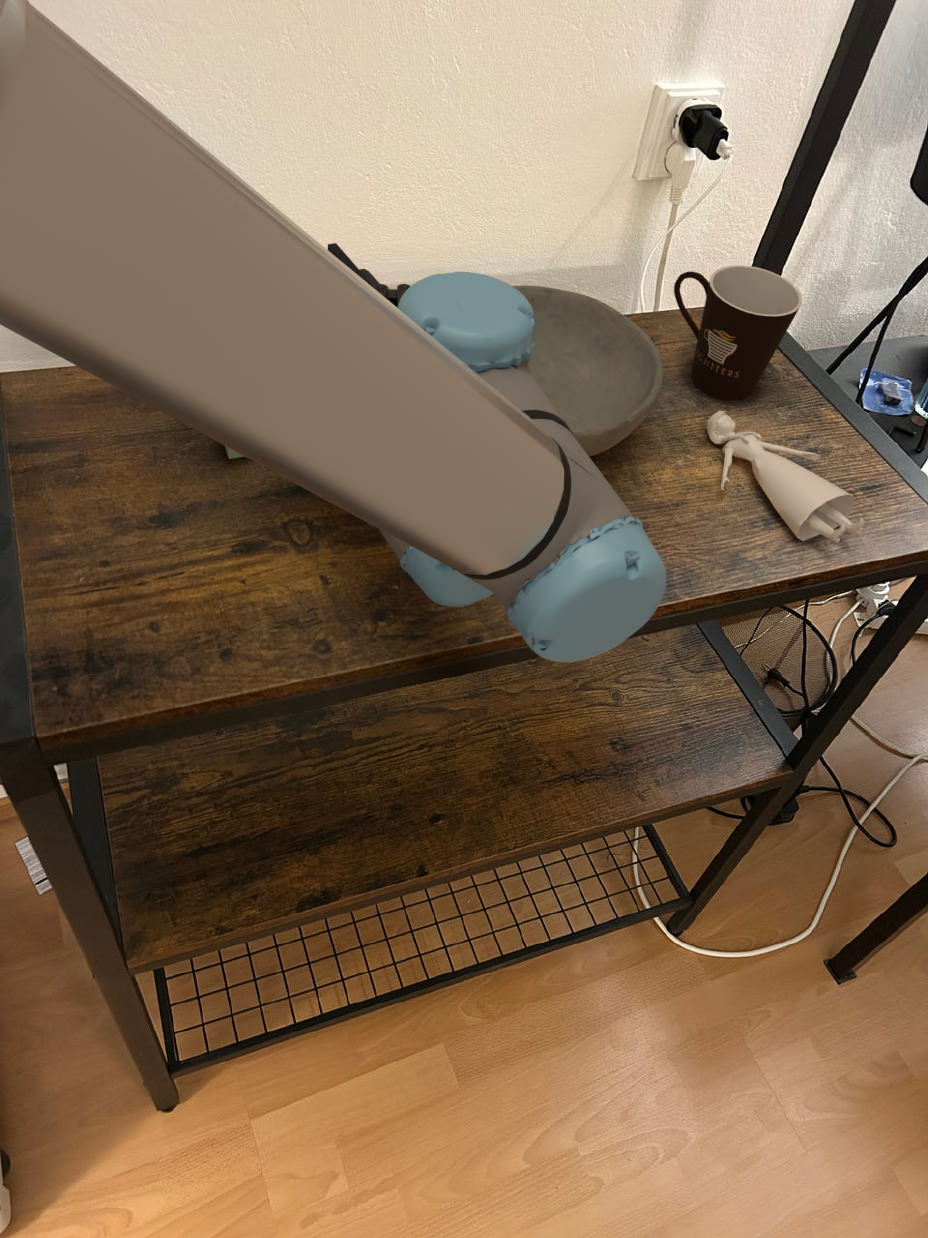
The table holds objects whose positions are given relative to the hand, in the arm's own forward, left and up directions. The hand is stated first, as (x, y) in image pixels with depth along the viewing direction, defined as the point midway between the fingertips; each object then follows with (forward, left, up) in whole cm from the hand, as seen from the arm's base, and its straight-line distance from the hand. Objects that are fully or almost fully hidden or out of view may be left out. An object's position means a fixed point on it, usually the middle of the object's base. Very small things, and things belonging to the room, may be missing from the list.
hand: (254, 271), depth 79 cm
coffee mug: (+45, -6, -12) cm, 47 cm away
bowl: (+23, -10, -12) cm, 27 cm away
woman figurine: (+41, -23, -12) cm, 48 cm away
